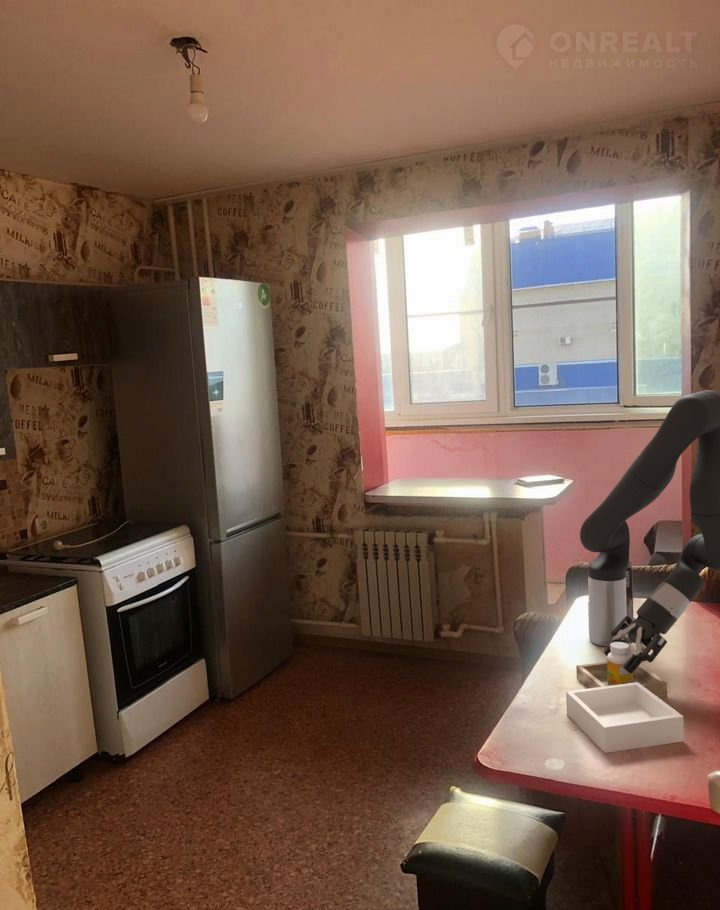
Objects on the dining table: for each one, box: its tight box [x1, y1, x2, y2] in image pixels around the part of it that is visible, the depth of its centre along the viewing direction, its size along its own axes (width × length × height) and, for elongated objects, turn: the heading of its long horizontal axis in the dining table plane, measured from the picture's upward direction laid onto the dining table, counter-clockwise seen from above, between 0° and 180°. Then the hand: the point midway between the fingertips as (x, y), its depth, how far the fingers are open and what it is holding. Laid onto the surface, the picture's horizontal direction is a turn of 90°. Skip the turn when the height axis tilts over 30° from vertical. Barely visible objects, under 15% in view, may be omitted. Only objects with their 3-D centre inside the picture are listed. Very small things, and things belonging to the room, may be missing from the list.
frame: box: [575, 661, 668, 698], centre depth 164 cm, size 14×14×3 cm
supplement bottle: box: [606, 642, 634, 686], centre depth 163 cm, size 5×5×10 cm
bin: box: [565, 681, 684, 754], centre depth 145 cm, size 16×16×5 cm
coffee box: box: [626, 561, 635, 620], centre depth 206 cm, size 9×6×16 cm
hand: (616, 663), depth 163 cm, fingers open, 8 cm apart
